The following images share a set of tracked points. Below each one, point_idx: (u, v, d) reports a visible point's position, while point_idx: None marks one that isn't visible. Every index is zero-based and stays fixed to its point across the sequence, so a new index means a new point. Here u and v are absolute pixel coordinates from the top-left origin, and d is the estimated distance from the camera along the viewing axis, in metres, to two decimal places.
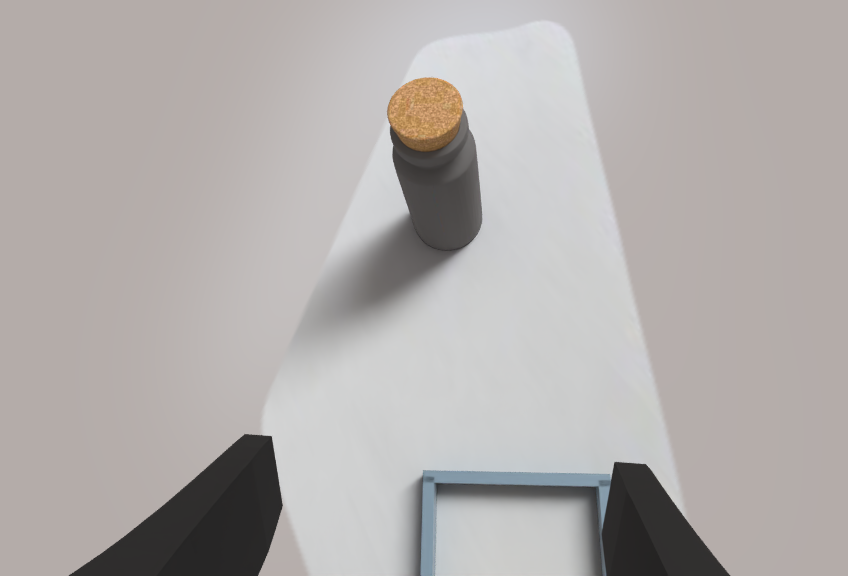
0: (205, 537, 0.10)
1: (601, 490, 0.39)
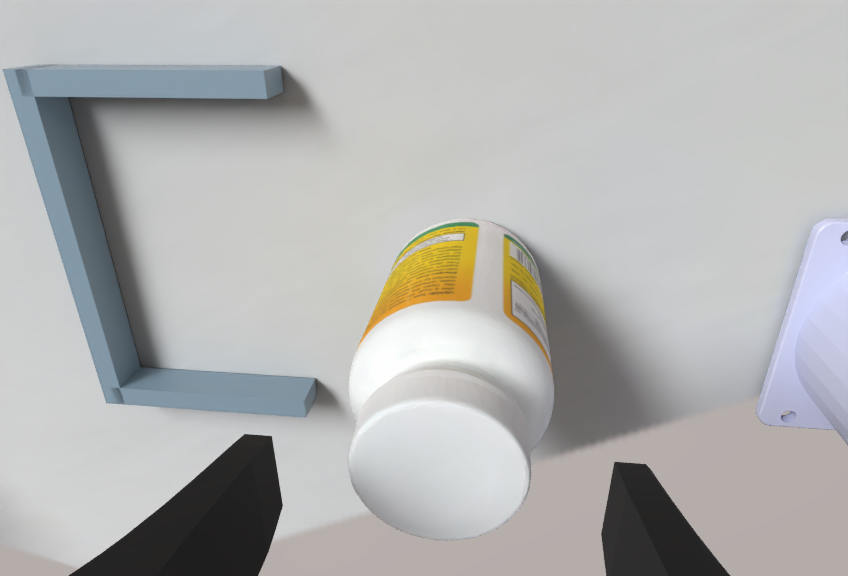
0: (205, 537, 0.10)
1: (40, 91, 0.18)
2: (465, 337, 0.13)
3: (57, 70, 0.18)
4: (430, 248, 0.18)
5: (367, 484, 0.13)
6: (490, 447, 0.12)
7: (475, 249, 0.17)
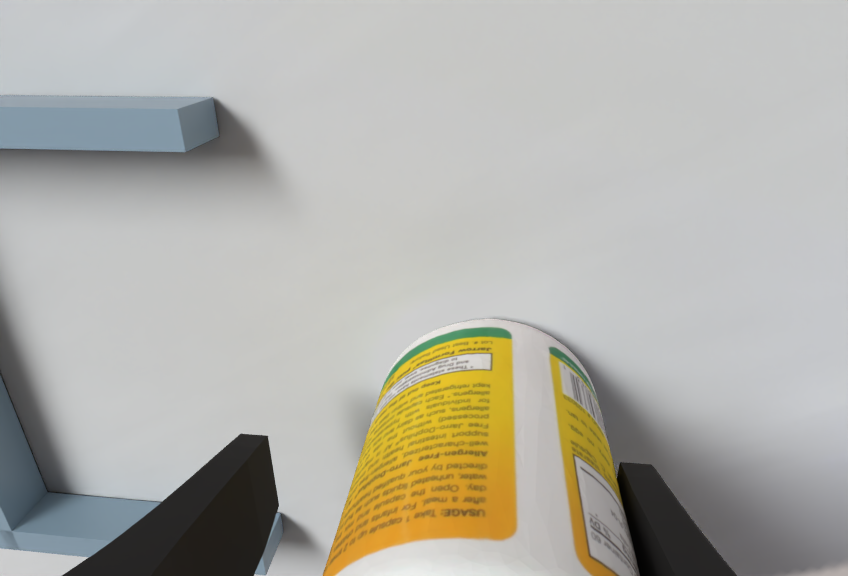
0: (200, 537, 0.10)
1: None
2: None
3: None
4: (439, 381, 0.11)
5: None
6: None
7: (511, 390, 0.11)
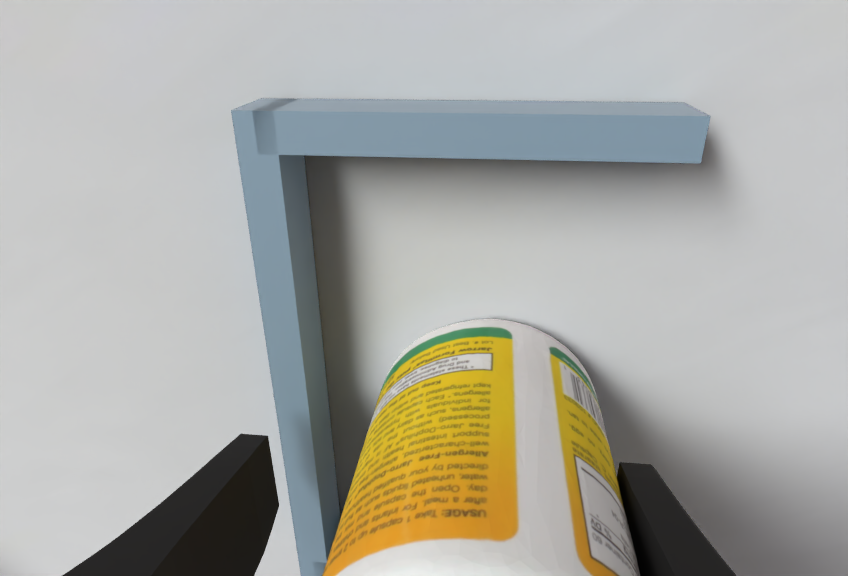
0: (201, 537, 0.10)
1: (290, 147, 0.11)
2: None
3: (329, 113, 0.10)
4: (439, 381, 0.11)
5: None
6: None
7: (511, 391, 0.11)
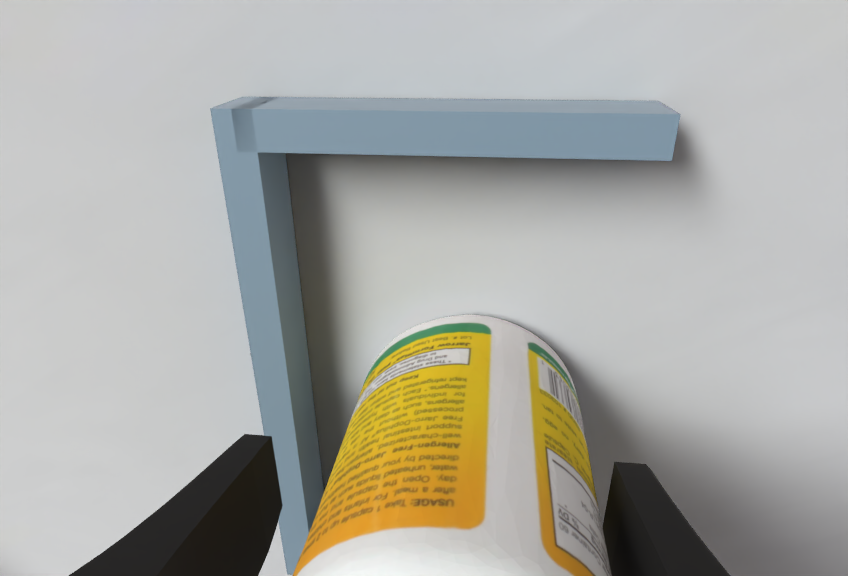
0: (205, 537, 0.10)
1: (269, 144, 0.11)
2: None
3: (306, 111, 0.10)
4: (417, 375, 0.11)
5: None
6: None
7: (487, 385, 0.11)
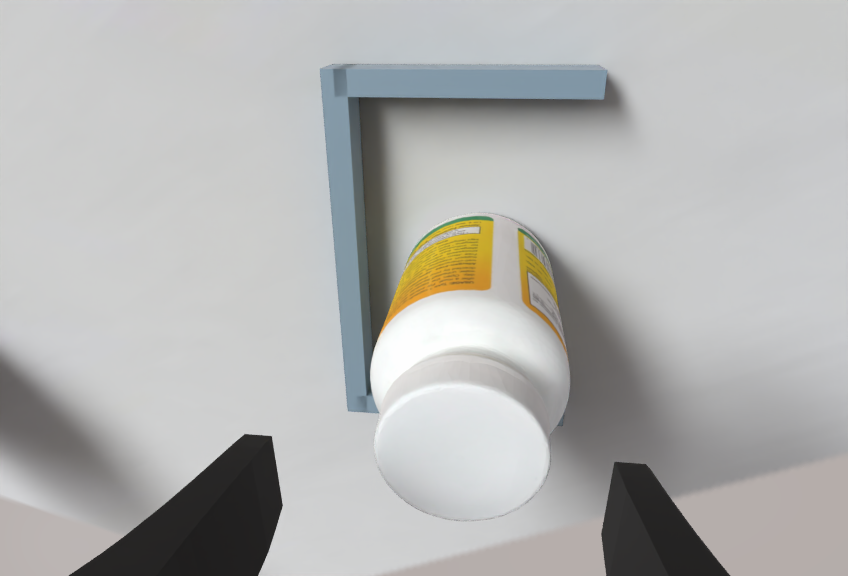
0: (206, 537, 0.10)
1: (355, 91, 0.17)
2: (487, 325, 0.14)
3: (380, 70, 0.17)
4: (446, 240, 0.18)
5: (391, 465, 0.13)
6: (512, 429, 0.12)
7: (491, 241, 0.17)
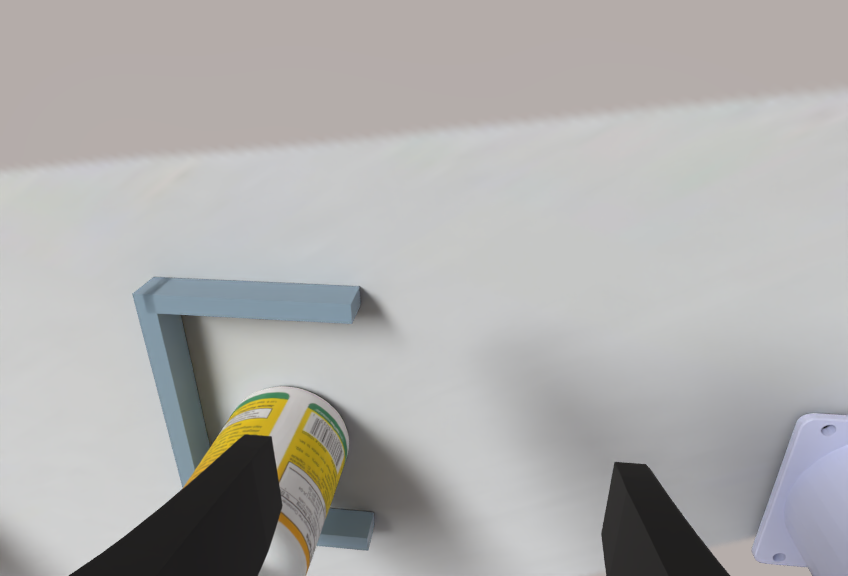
0: (205, 537, 0.10)
1: (162, 310, 0.22)
2: None
3: (178, 296, 0.21)
4: (240, 423, 0.22)
5: None
6: None
7: (270, 429, 0.22)
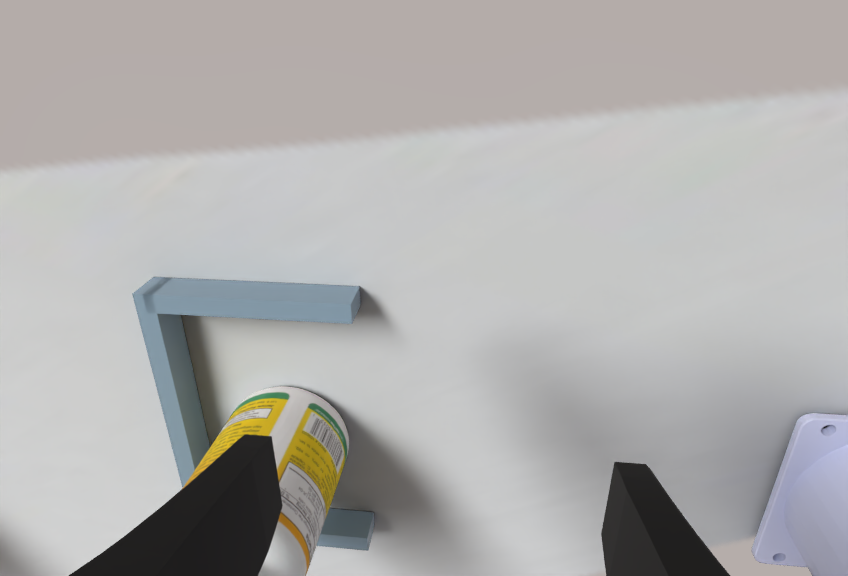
0: (205, 537, 0.10)
1: (162, 310, 0.22)
2: None
3: (178, 296, 0.21)
4: (240, 423, 0.22)
5: None
6: None
7: (270, 429, 0.22)
